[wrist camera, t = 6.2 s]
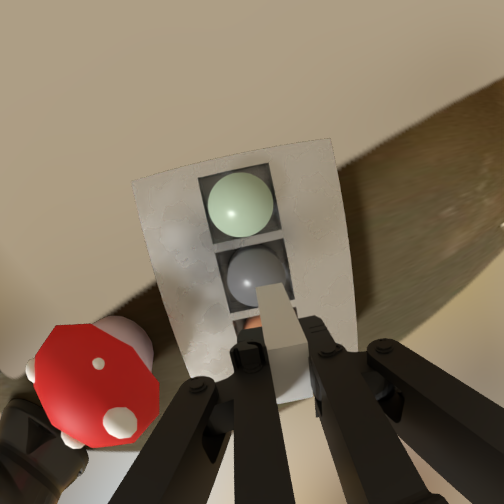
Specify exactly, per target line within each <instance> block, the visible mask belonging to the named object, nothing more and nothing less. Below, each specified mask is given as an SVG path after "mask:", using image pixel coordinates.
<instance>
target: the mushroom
mask: <svg viewBox="0 0 504 504" xmlns="http://www.w3.org/2000/svg"><path fill="white" fill-rule="evenodd" d="M153 356H154V351H153V346H152V341H151V340H150V338H149V337H148V335H147V333H146V332H145V330H144V329H142V328H141V327H140V326H139V325H138V324H137V323H135V322H134V321H132V320H130V319H127V318H125V317H123V316H110V315H109V316H107V317H105V318H102V319H100V320H98V321H97V322H95V323H93V324H75V325H56V326H55V328H54V329H53V330H52V332H51V333H50V335H49V336H48V338H47V339H46V340H45V342H44V343H43V345H42V346H41V348H40V349H39V351H38V352H37V354H36V355H35V358H33V359H30V360H29V362H28V363H27V364H26V371H25V372H26V374H27V377H28V379H29V380H30V381H31V382H33V386H34V388H35V390H36V393H37V395H38V397H39V399H40V402H41V404H42V406H43V408H44V410H45V412H46V414H47V416H48V418H49V420H50V422H51V424H52V425H53V426H54V427H56V428H58V429H59V430H61V438H62V439H63V441H64V443H65V445H67V446H69V447H71V448H72V449H79V448H82V447H83V446H84V445H87V446H89V447H91V448H97V447H106V446H115V445H122V444H129V443H134V442H135V441H136V440H137V439H138V438H139V437H140V435H141V434H142V433H143V432H144V431H145V430H146V429H147V427H148V426H149V425H150V424H151V423H152V422H153V421H154V419H155V418H156V417H157V416H158V415H159V382H158V381H157V379H156V378H155V377H154V376H153V374H152V373H151V372H152V364H153Z"/></svg>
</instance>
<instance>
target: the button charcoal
mask: <svg viewBox="0 0 504 504" xmlns="http://www.w3.org/2000/svg"><path fill="white" fill-rule="evenodd" d="M285 282H286V273H285V269H284V267H283V265H282V263H281V262H280V260H279V258H278V257H277V255H276V254H275V253H274V252H273V251H272V250H271V249H270V248H268V247H266V246H263V245H259V244H254V245H250V246H245V247H242V248H240V249H239V250H238V251H236V252H235V253H234V255H233V256H232V258H231V259H230V262H229V265H228V276H227V283H228V287H229V290H230V292H231V294H232V295H233V296H234V297H235V298H236V299H237V300H238V301H239V302H241V303H243V304H245V305H248V306H254V307H257V306H258V300H257V294H256V288H255V287H260V286H266V285H271V284H277V283H282V284H283V286H285Z"/></svg>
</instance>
